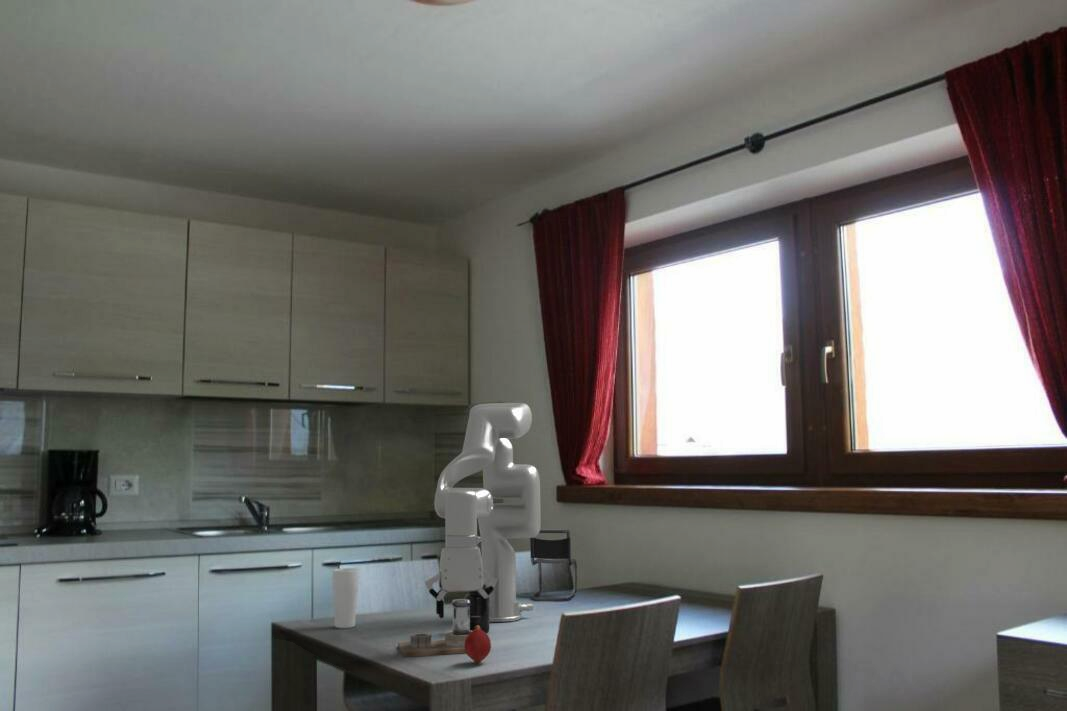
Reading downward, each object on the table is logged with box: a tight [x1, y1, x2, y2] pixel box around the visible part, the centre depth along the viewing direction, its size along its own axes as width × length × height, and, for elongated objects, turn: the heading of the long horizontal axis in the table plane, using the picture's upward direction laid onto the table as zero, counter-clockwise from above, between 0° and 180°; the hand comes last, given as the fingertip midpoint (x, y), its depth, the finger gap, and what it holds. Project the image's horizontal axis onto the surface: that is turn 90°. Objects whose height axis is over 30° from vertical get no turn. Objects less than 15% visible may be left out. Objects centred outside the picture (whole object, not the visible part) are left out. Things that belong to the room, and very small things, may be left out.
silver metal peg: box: [451, 598, 471, 635], centre depth 219 cm, size 4×4×10 cm
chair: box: [529, 529, 578, 602], centre depth 299 cm, size 13×17×22 cm
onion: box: [464, 626, 492, 664], centre depth 202 cm, size 6×6×8 cm
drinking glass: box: [332, 567, 359, 629], centre depth 248 cm, size 7×7×15 cm
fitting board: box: [397, 630, 472, 658], centre depth 217 cm, size 19×12×4 cm, turn 105°
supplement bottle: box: [463, 584, 491, 634], centre depth 239 cm, size 7×7×12 cm
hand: (461, 616), depth 219 cm, fingers open, 9 cm apart
